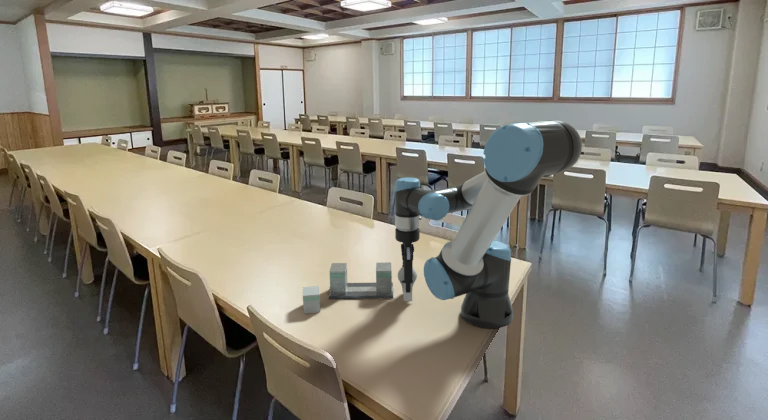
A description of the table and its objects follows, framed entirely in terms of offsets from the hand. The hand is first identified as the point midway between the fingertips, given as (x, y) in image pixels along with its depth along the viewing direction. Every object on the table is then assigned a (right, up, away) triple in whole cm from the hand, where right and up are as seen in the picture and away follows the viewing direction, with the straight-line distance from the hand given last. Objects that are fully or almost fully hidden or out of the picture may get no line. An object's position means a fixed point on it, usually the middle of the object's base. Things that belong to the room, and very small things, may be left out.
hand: (407, 295), depth 144 cm
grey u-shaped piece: (-15, 0, +5) cm, 16 cm away
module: (-30, -3, -6) cm, 31 cm away
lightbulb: (0, -1, 0) cm, 1 cm away
